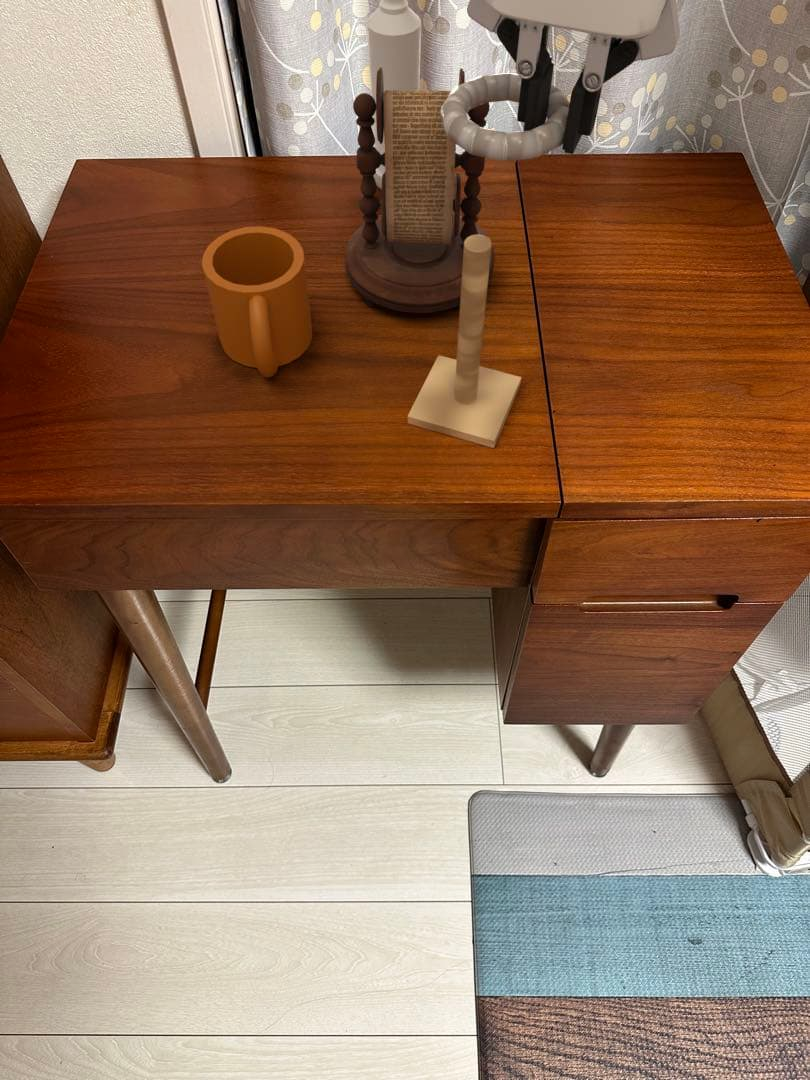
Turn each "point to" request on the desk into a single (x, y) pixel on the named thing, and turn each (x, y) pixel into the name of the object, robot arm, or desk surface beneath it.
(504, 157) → the ring
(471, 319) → the wooden peg stand
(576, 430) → the desk surface
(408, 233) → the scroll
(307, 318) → the mug
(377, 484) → the desk surface
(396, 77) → the bottle
